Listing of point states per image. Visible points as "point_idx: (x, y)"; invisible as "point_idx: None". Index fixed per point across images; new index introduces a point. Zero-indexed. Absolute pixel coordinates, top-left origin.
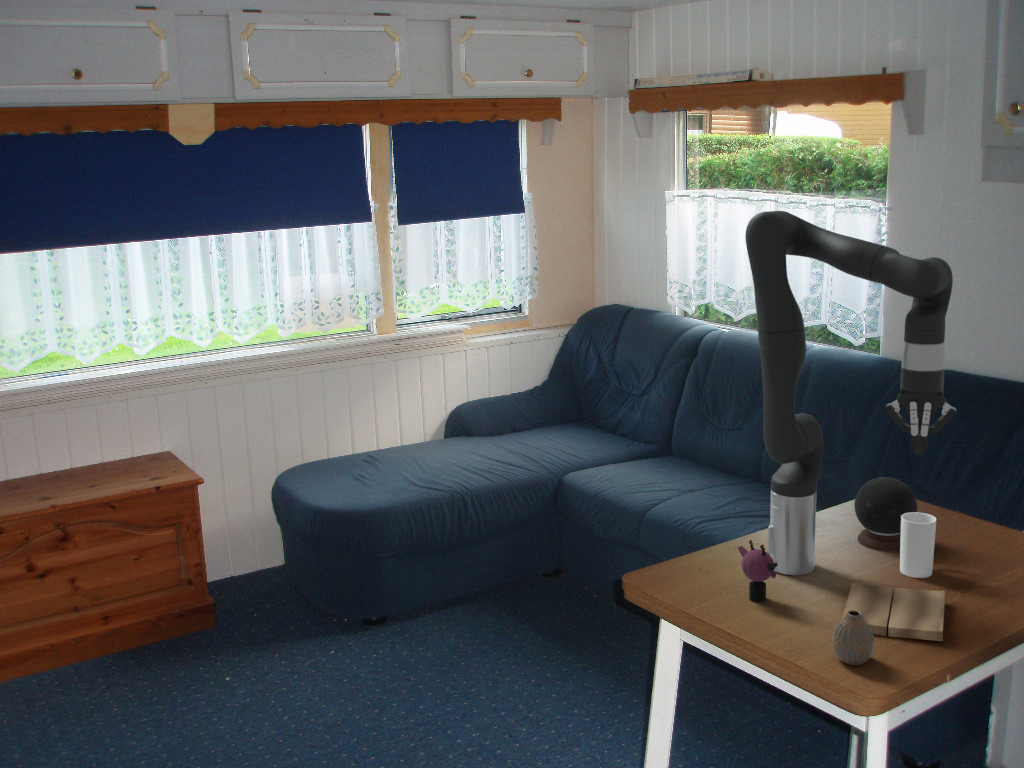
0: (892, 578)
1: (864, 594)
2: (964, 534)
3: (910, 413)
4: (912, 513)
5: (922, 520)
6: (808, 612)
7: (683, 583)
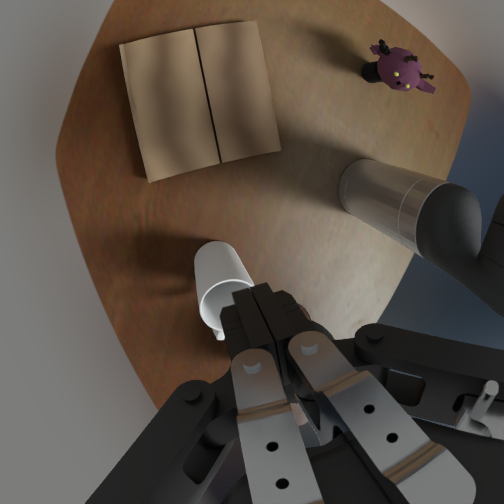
0: (238, 222)
1: (253, 115)
2: None
3: (414, 425)
4: None
5: None
6: (306, 55)
7: (438, 90)
